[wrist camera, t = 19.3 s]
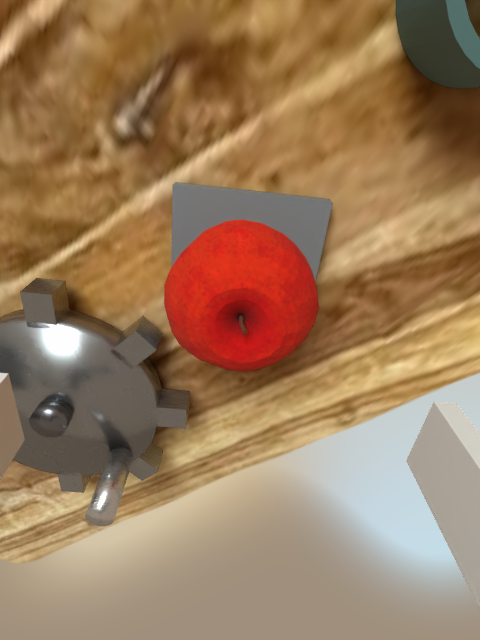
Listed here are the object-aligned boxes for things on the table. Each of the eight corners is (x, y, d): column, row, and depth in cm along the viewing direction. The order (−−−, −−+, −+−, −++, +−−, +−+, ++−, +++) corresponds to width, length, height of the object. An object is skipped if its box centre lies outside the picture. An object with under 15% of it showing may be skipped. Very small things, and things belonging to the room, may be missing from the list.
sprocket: (86, 498, 35) (52, 582, 28) (-107, 375, 28) (-206, 451, 22) (238, 404, 29) (236, 484, 23) (41, 220, 22) (-36, 264, 16)
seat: (173, 317, 26) (170, 325, 25) (175, 182, 22) (172, 185, 21) (301, 329, 27) (303, 338, 26) (329, 199, 22) (333, 203, 21)
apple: (193, 334, 26) (176, 411, 19) (160, 218, 22) (124, 266, 15) (312, 315, 25) (335, 389, 18) (298, 192, 21) (322, 230, 15)
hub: (40, 407, 31) (10, 452, 27) (27, 345, 28) (-9, 385, 24) (115, 414, 31) (96, 459, 27) (110, 353, 28) (88, 393, 24)
